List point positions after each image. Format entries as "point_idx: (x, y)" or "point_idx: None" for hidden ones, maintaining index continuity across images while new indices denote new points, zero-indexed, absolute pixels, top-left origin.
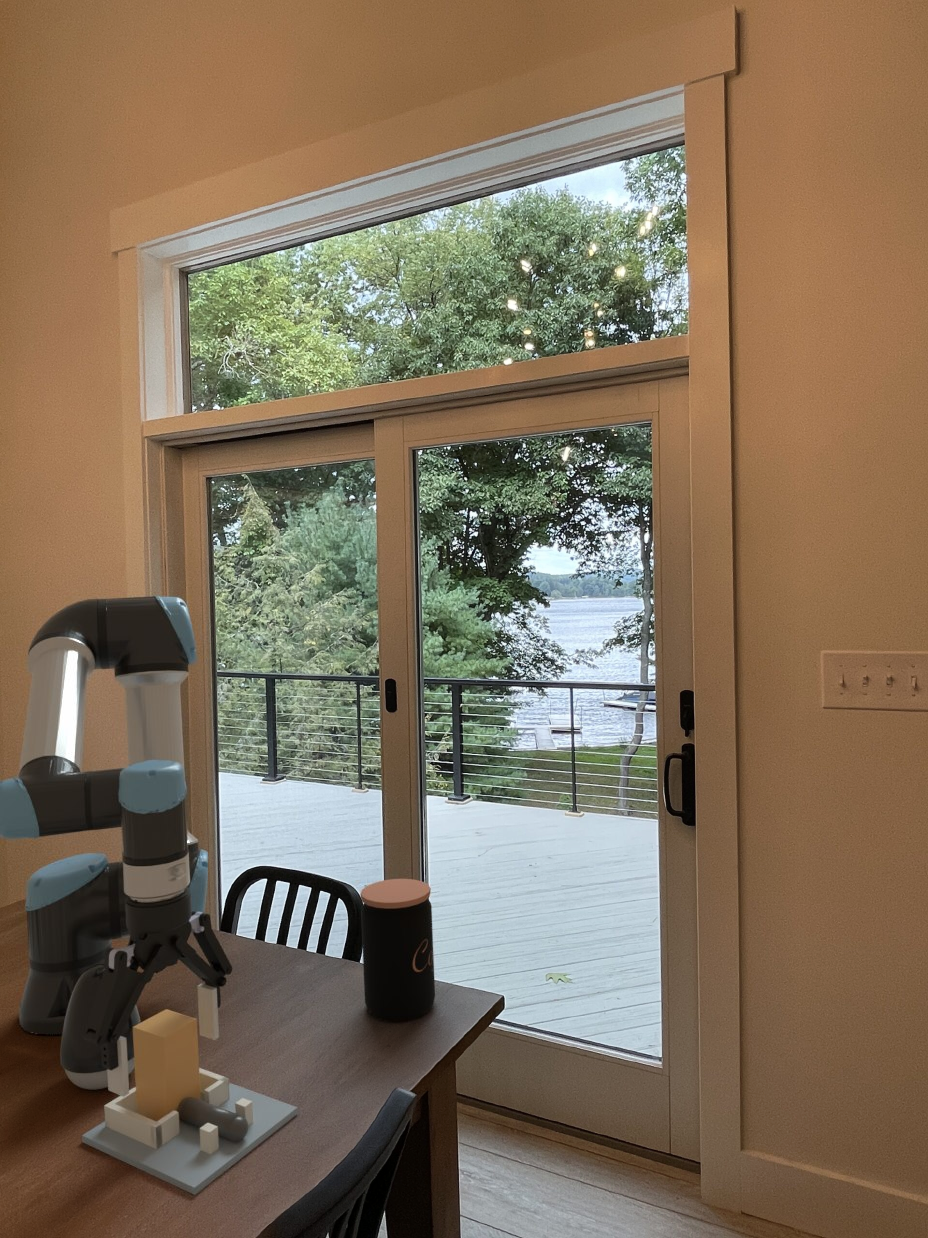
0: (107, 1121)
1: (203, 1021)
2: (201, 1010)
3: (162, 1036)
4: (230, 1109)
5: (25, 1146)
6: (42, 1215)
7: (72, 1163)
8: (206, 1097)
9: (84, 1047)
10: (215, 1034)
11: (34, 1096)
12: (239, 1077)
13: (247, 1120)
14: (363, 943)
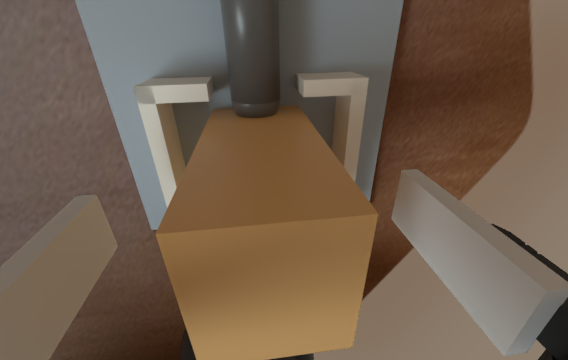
0: None
1: (87, 267)
2: (68, 306)
3: (370, 227)
4: (175, 37)
5: (393, 250)
6: (507, 109)
7: None
8: (209, 91)
9: (306, 355)
10: (81, 204)
11: None
12: (83, 141)
13: None
14: None
